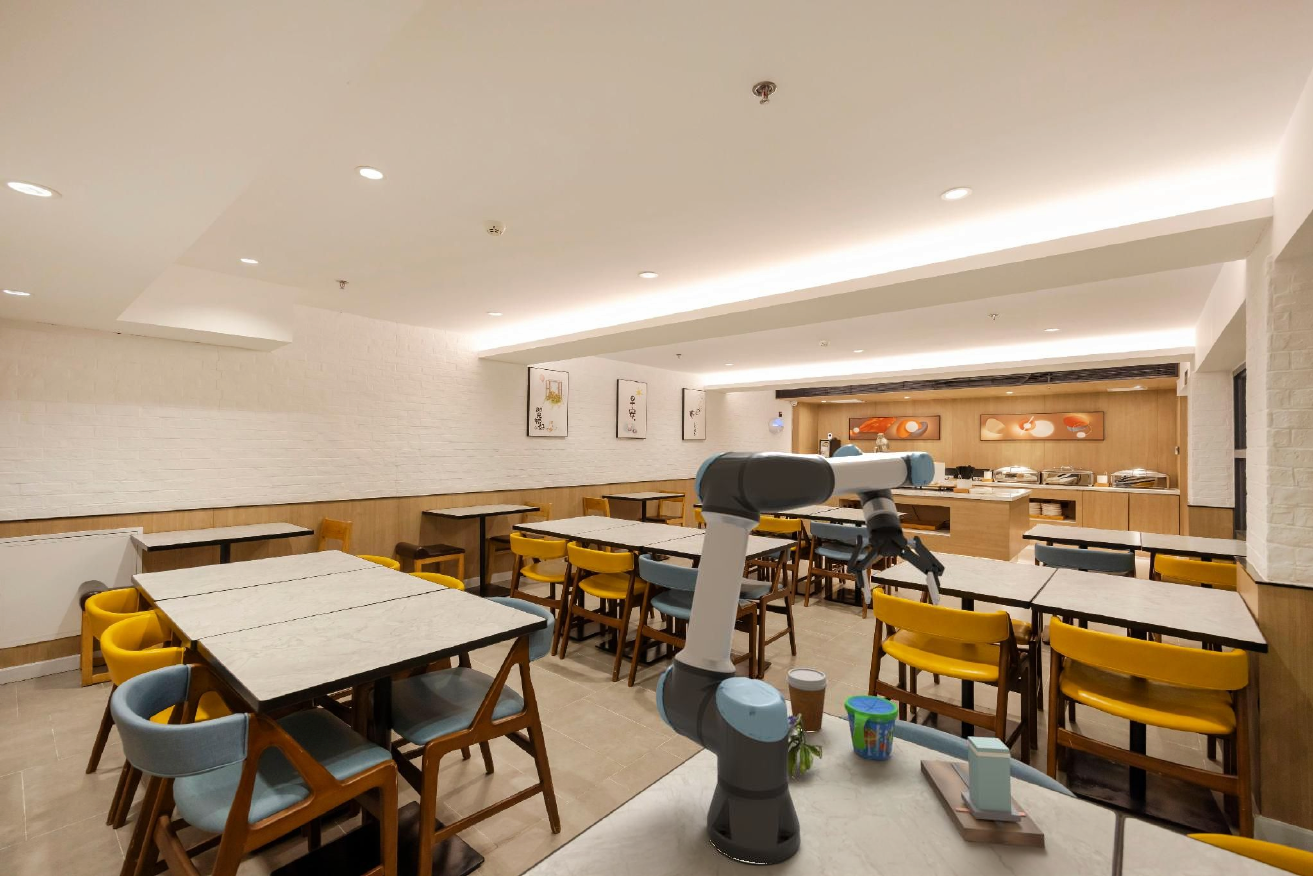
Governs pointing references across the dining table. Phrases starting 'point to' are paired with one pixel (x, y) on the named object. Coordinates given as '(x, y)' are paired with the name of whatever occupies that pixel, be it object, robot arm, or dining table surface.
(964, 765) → the fader track
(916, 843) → the dining table surface
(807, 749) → the passion flower
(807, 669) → the disposable coffee cup
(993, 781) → the cap
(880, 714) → the snack cup
